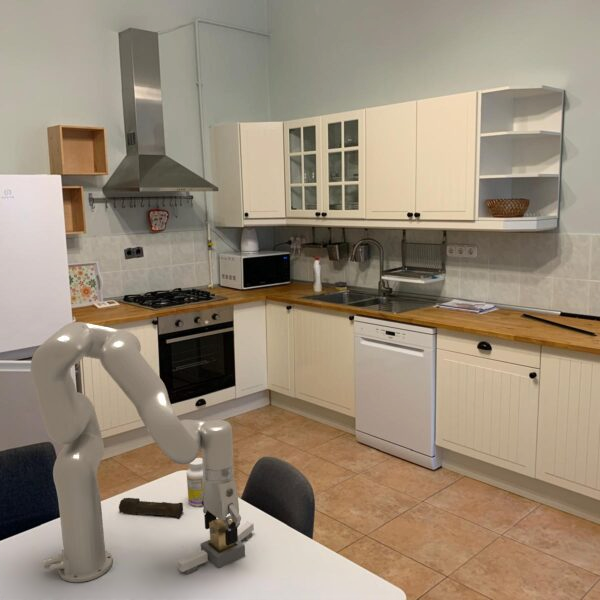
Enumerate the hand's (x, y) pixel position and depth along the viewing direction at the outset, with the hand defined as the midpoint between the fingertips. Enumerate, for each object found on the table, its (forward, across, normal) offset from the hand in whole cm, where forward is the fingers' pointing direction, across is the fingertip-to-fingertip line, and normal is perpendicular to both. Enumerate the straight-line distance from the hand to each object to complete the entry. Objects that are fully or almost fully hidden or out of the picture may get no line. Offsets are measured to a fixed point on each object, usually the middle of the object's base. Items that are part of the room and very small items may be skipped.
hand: (221, 535), depth 158 cm
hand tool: (+6, +31, +5) cm, 32 cm away
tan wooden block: (+6, 0, 0) cm, 6 cm away
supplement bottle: (+6, +28, -10) cm, 31 cm away
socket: (+6, 0, 0) cm, 6 cm away
